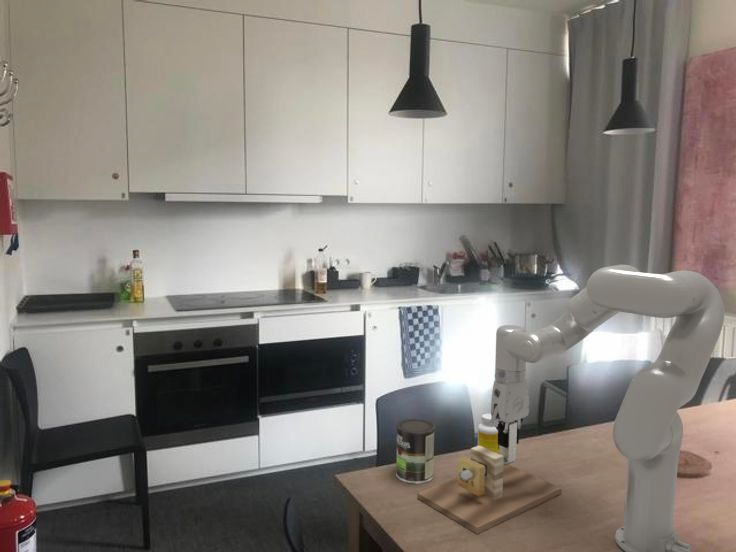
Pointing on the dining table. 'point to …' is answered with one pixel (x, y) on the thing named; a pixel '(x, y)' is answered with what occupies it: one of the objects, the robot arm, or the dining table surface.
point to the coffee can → (415, 451)
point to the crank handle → (506, 452)
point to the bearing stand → (489, 494)
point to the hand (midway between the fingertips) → (508, 443)
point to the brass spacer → (479, 476)
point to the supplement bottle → (488, 434)
